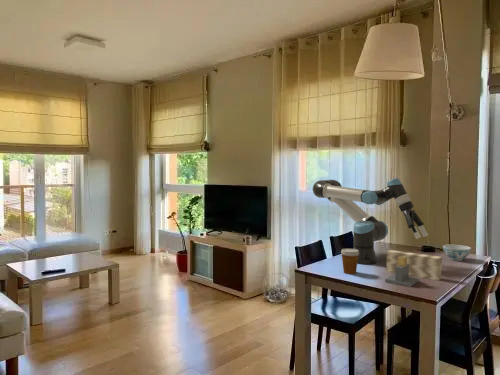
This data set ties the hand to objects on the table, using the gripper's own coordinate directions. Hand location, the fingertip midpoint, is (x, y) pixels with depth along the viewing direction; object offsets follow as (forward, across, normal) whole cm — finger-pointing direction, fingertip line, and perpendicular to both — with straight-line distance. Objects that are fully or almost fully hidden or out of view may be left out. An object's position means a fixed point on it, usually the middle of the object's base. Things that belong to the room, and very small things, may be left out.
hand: (422, 237), depth 218 cm
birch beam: (+16, -20, +8) cm, 27 cm away
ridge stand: (+17, -36, +8) cm, 41 cm away
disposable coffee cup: (+4, -36, +32) cm, 49 cm away
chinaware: (+18, +31, -3) cm, 36 cm away
